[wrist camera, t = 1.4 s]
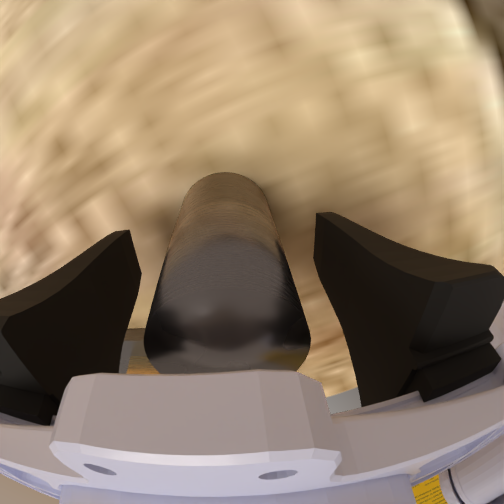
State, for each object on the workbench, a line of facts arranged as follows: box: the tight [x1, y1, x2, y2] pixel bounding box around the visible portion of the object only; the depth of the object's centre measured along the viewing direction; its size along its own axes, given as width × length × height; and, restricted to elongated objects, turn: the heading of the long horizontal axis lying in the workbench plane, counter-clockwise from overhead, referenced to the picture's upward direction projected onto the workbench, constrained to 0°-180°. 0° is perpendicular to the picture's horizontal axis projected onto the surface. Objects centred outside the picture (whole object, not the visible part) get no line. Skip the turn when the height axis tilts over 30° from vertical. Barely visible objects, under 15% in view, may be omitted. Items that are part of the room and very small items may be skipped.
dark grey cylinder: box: [144, 172, 311, 374], centre depth 10 cm, size 4×4×8 cm
